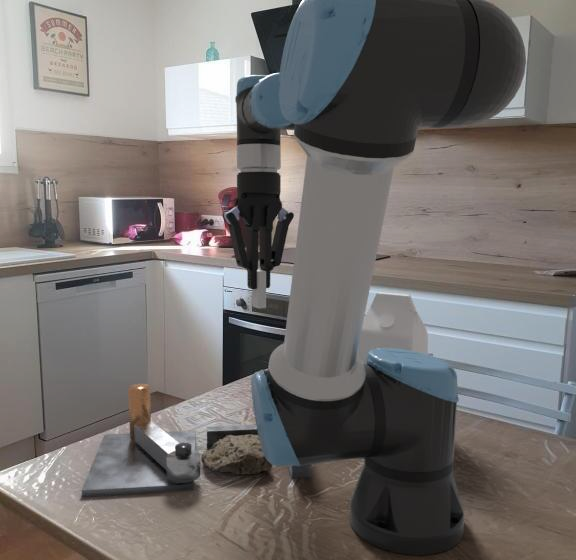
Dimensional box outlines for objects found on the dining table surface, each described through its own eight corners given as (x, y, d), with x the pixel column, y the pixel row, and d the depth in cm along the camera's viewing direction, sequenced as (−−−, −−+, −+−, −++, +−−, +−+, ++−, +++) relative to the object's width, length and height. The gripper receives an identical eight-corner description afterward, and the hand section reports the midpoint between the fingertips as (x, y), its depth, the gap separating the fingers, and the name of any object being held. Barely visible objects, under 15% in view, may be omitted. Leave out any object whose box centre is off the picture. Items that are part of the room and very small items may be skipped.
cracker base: (313, 483, 90) (313, 439, 89) (81, 496, 85) (79, 451, 84) (293, 431, 110) (294, 394, 109) (104, 439, 105) (103, 402, 104)
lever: (206, 477, 88) (205, 419, 87) (175, 486, 86) (174, 427, 84) (150, 430, 106) (148, 381, 104) (123, 436, 103) (121, 386, 101)
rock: (202, 452, 101) (201, 428, 100) (266, 449, 102) (266, 425, 101) (200, 482, 90) (200, 456, 90) (272, 479, 92) (272, 453, 91)
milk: (427, 426, 112) (434, 292, 108) (411, 449, 102) (417, 302, 98) (368, 415, 118) (372, 286, 114) (346, 436, 108) (350, 295, 104)
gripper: (282, 173, 107) (281, 301, 111) (215, 171, 101) (216, 306, 104) (302, 171, 101) (301, 307, 104) (232, 169, 95) (233, 313, 98)
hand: (258, 306), depth 104 cm, fingers closed
